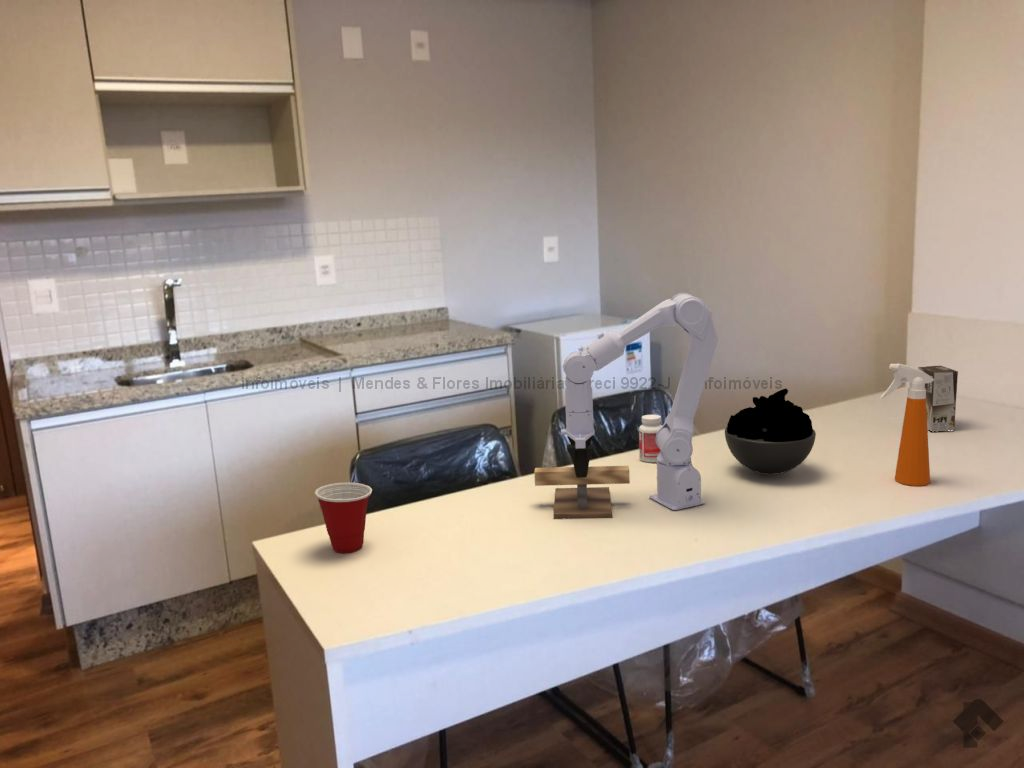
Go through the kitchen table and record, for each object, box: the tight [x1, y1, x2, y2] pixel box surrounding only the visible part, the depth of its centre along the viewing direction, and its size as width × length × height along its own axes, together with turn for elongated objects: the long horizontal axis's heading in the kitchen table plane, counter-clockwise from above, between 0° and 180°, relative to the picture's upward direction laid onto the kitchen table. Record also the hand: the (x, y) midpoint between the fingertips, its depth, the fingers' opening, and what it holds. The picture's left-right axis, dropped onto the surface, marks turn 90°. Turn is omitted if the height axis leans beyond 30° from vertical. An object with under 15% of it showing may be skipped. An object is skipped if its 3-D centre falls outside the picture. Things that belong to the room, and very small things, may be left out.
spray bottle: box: [879, 363, 934, 487], centre depth 178 cm, size 7×11×26 cm, turn 78°
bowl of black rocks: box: [724, 388, 817, 475], centre depth 189 cm, size 20×20×19 cm
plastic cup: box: [314, 482, 373, 554], centre depth 159 cm, size 11×11×12 cm
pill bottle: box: [638, 414, 663, 463], centre depth 204 cm, size 6×6×11 cm
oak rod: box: [534, 465, 630, 487], centre depth 175 cm, size 20×3×3 cm, turn 86°
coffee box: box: [917, 365, 959, 432], centre depth 218 cm, size 9×6×16 cm
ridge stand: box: [553, 485, 613, 520], centre depth 176 cm, size 16×12×5 cm
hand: (581, 471), depth 175 cm, fingers open, 7 cm apart
